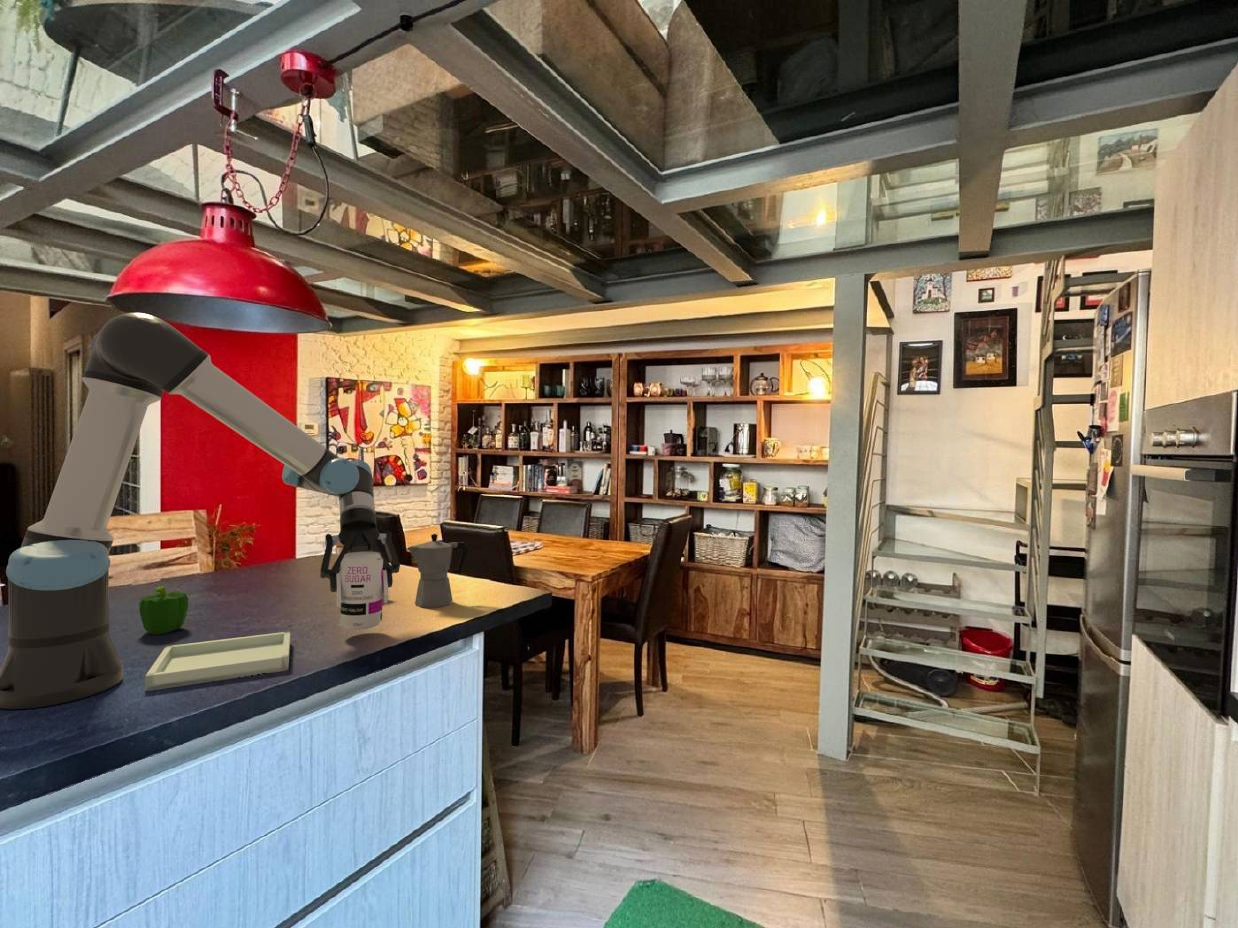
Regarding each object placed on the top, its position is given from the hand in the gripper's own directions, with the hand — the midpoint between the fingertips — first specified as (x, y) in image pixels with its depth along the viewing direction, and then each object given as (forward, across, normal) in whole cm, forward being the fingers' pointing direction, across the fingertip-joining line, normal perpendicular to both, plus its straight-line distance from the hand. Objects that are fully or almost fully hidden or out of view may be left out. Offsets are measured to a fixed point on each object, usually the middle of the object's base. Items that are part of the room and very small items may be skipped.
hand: (363, 601), depth 119 cm
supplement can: (+2, 0, -6) cm, 7 cm away
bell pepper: (-12, +37, -24) cm, 46 cm away
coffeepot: (-11, -20, -22) cm, 32 cm away
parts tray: (+8, +23, -3) cm, 25 cm away
